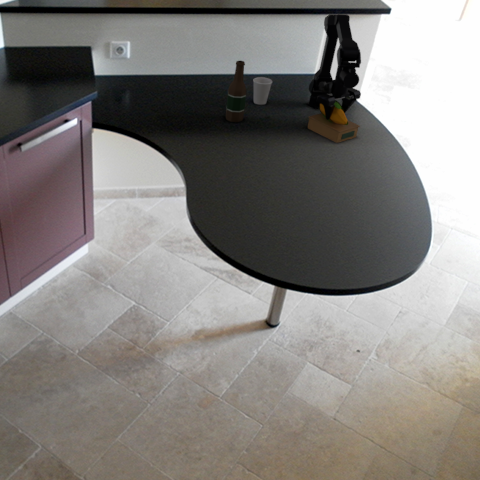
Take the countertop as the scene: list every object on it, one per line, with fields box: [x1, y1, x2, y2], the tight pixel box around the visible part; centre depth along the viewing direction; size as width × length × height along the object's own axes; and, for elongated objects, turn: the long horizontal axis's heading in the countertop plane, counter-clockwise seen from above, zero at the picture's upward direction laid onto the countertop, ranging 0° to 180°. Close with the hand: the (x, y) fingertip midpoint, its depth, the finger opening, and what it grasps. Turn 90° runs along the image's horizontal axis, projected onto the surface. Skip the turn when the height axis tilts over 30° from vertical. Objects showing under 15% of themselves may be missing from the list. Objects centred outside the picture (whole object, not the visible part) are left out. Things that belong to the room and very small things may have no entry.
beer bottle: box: [225, 60, 247, 123], centre depth 239 cm, size 8×8×24 cm
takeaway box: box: [307, 112, 361, 144], centre depth 236 cm, size 17×12×5 cm
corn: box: [318, 100, 348, 125], centre depth 233 cm, size 7×8×20 cm
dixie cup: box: [252, 76, 273, 106], centre depth 260 cm, size 8×8×10 cm
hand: (334, 117), depth 234 cm, fingers closed on corn, 8 cm apart
